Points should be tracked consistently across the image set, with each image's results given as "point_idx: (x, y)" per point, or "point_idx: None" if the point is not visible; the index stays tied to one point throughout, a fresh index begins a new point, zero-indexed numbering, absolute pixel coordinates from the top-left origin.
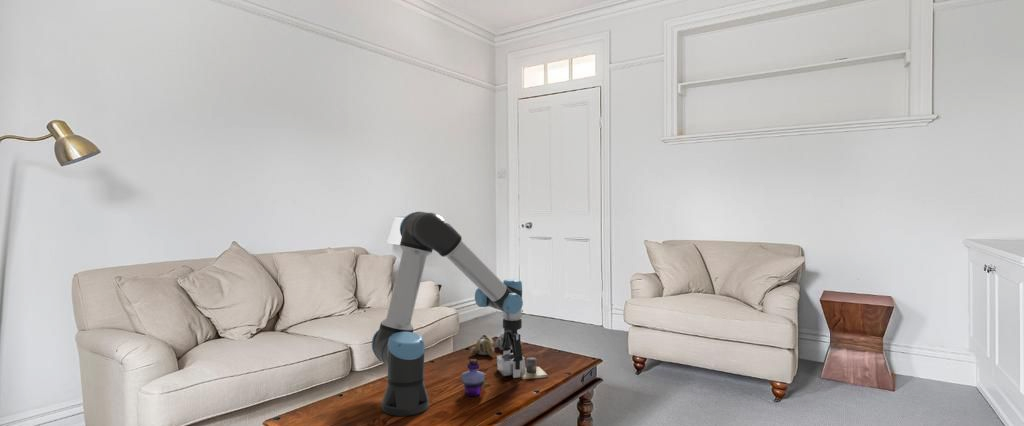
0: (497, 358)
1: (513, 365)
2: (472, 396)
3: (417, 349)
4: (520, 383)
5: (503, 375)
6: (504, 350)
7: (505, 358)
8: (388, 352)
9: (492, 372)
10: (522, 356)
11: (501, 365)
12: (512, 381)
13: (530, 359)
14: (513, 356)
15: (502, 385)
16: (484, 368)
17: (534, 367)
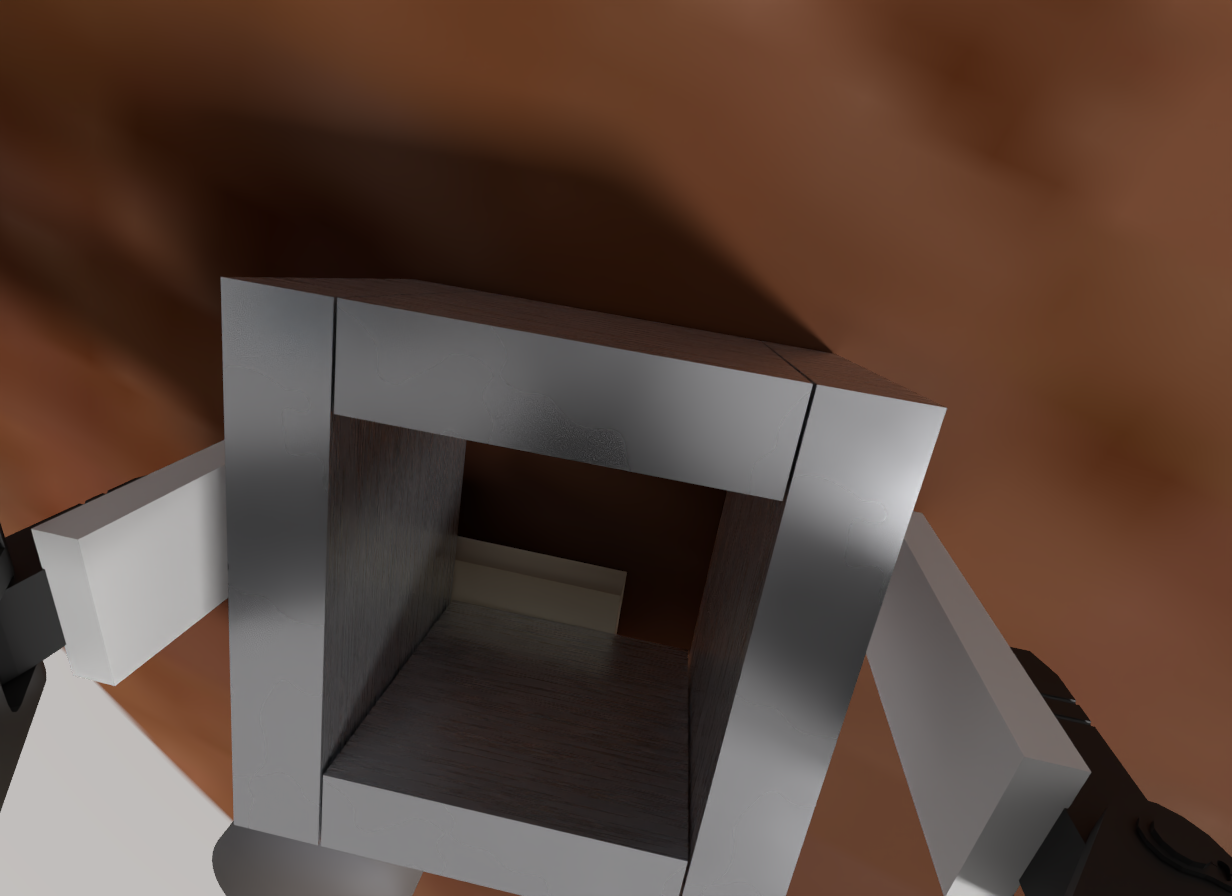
0: (818, 378)
1: (165, 478)
2: None
3: None
4: (112, 382)
5: (439, 284)
6: (1124, 812)
7: (746, 580)
8: None
9: (729, 173)
10: (348, 846)
11: (439, 300)
12: (198, 313)
13: (271, 866)
14: (703, 767)
15: (30, 61)
16: (1081, 99)
17: None
